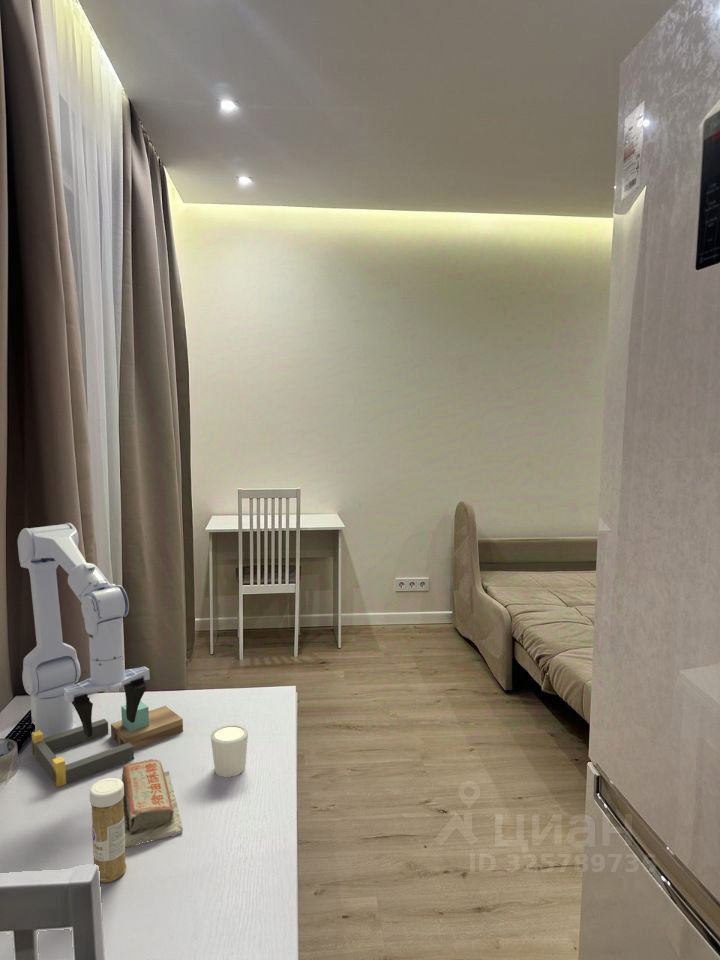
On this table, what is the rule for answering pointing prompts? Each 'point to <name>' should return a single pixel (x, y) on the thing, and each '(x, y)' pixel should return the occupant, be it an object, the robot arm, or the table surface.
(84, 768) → the dock
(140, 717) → the block
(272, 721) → the table surface
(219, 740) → the white cup
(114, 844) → the sprinkles bottle
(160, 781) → the packaged product
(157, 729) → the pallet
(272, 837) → the table surface
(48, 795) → the table surface
